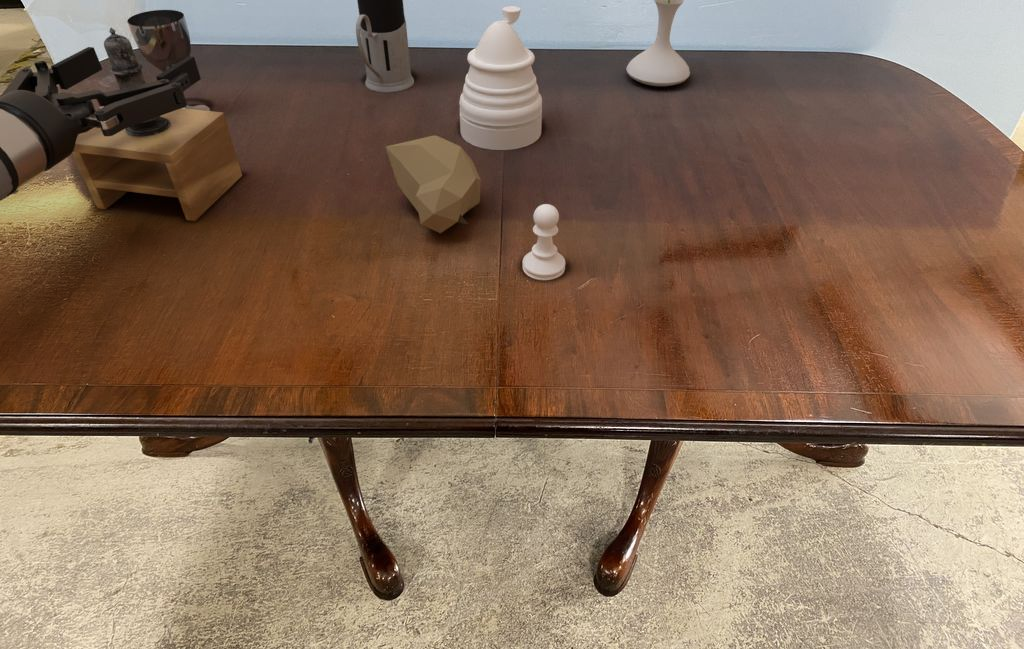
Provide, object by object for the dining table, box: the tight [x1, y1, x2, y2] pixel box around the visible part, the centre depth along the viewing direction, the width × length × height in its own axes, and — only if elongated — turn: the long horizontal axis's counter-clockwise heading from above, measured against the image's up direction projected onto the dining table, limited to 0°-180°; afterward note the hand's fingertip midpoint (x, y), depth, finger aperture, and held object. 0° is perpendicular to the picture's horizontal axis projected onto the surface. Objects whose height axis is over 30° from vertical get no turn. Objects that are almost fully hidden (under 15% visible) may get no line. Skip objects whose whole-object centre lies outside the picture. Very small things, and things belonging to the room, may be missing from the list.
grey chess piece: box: [103, 27, 171, 136], centre depth 80 cm, size 6×6×12 cm
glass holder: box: [355, 0, 415, 93], centre depth 113 cm, size 9×14×15 cm, turn 166°
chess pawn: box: [521, 203, 567, 281], centre depth 75 cm, size 5×5×9 cm
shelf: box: [71, 108, 243, 222], centre depth 87 cm, size 14×12×10 cm
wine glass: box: [126, 9, 211, 111], centre depth 105 cm, size 8×8×15 cm
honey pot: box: [458, 5, 543, 151], centre depth 100 cm, size 13×13×18 cm
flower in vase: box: [625, 0, 691, 87], centre depth 113 cm, size 13×11×25 cm
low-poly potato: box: [385, 134, 482, 234], centre depth 84 cm, size 15×11×12 cm
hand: (144, 62), depth 82 cm, fingers open, 13 cm apart
